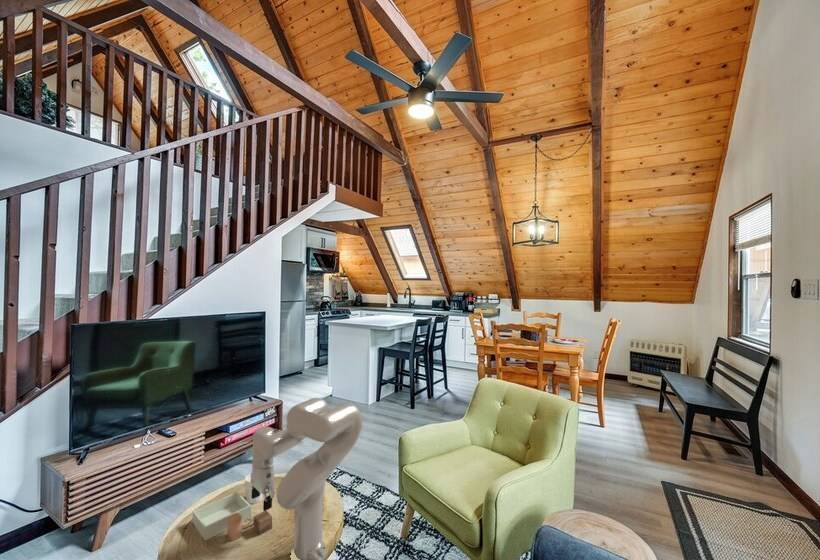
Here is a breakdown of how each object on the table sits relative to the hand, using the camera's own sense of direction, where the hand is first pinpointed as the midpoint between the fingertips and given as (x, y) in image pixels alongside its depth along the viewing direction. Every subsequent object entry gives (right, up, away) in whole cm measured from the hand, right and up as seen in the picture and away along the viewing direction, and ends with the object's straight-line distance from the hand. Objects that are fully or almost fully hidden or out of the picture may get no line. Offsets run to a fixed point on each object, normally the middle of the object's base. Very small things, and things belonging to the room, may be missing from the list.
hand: (261, 503), depth 142 cm
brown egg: (-8, -10, -4) cm, 14 cm away
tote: (-17, -9, +4) cm, 20 cm away
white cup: (-10, -9, +18) cm, 23 cm away
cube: (+1, -10, 0) cm, 10 cm away
